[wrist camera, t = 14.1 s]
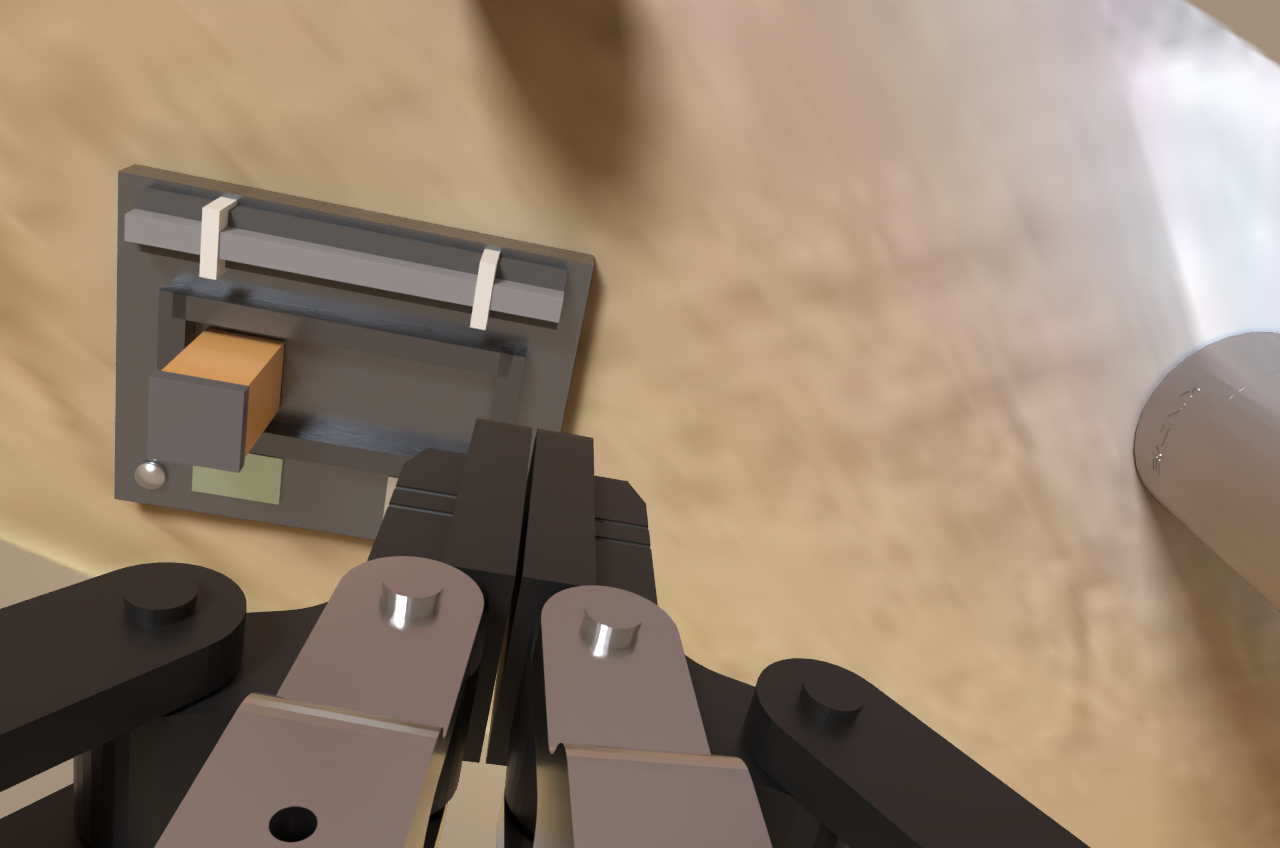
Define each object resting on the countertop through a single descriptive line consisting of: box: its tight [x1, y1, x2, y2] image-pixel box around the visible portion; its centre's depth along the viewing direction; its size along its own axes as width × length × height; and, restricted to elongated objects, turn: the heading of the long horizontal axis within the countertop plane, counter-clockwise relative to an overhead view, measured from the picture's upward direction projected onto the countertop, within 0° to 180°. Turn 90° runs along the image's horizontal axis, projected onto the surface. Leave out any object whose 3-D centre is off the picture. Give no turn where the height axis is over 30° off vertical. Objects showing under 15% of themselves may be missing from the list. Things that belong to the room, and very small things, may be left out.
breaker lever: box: [147, 328, 285, 473], centre depth 38 cm, size 3×3×6 cm
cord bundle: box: [124, 187, 567, 330], centre depth 38 cm, size 16×3×2 cm, turn 78°
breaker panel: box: [115, 165, 594, 540], centre depth 41 cm, size 18×14×3 cm
